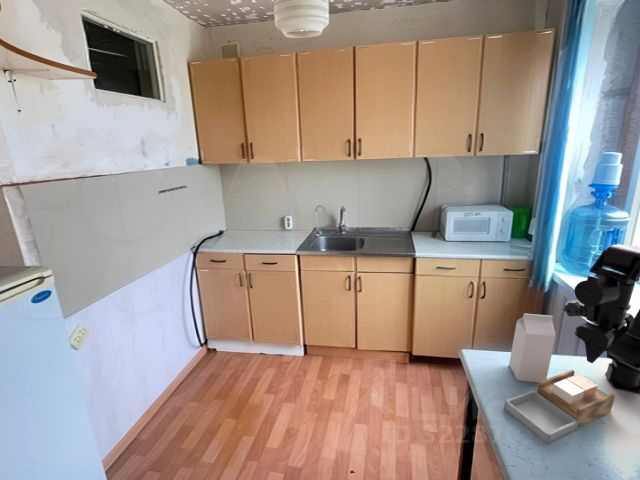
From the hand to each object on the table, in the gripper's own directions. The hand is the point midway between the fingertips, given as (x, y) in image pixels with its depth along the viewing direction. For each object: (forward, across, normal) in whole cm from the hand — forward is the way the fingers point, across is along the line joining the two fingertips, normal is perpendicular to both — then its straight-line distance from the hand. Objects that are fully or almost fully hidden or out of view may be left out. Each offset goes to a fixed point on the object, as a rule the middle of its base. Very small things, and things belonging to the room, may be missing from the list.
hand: (597, 356), depth 83 cm
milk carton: (+13, +3, -13) cm, 19 cm away
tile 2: (+9, +4, -1) cm, 10 cm away
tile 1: (+9, +9, -2) cm, 13 cm away
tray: (+13, +17, -4) cm, 22 cm away
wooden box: (+13, +6, -1) cm, 14 cm away
